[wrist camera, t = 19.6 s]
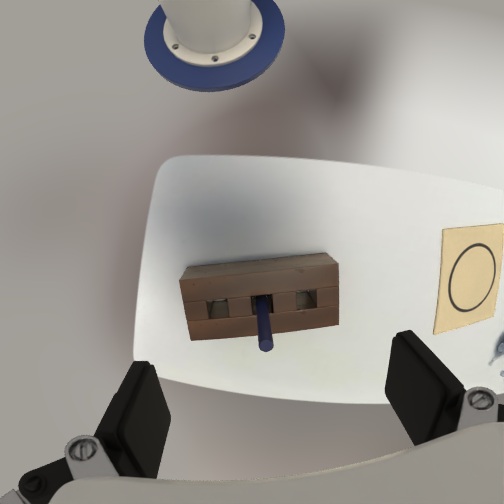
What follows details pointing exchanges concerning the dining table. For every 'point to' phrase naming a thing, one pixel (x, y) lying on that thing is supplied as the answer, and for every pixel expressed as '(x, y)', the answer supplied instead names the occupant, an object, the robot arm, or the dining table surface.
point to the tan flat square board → (468, 275)
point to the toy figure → (501, 348)
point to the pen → (263, 324)
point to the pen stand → (261, 283)
